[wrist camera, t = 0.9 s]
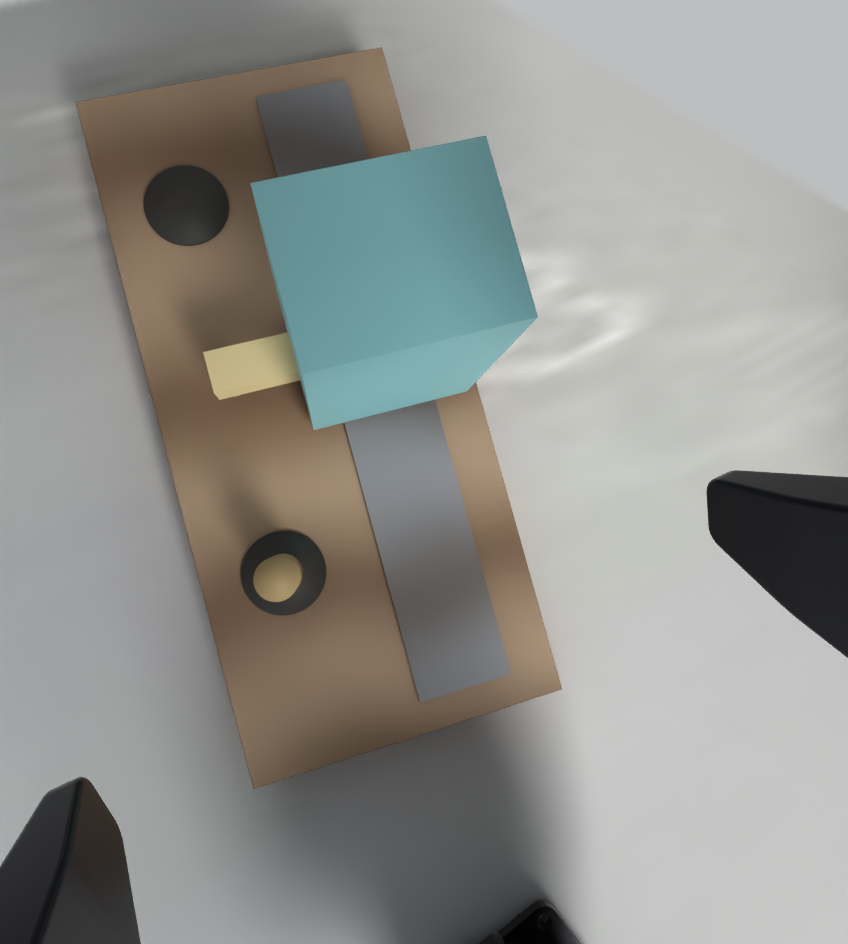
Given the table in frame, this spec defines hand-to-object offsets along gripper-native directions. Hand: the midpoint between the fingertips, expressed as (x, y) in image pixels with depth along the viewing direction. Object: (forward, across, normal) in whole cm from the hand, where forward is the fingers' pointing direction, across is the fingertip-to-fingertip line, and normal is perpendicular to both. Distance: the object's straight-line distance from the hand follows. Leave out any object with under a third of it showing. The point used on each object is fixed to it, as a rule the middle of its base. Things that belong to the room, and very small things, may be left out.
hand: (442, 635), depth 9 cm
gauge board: (+16, -2, +2) cm, 16 cm away
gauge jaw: (+14, -3, 0) cm, 14 cm away
